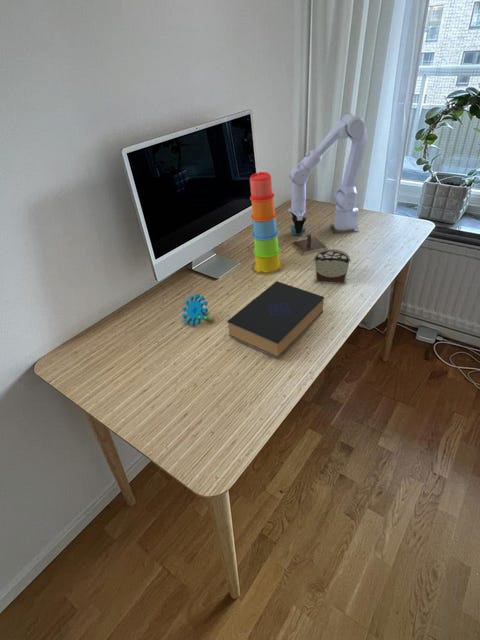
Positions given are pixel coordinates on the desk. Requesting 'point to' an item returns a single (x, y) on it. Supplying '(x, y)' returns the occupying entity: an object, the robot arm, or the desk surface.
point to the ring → (295, 230)
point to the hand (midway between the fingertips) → (298, 229)
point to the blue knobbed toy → (195, 310)
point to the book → (276, 318)
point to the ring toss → (309, 244)
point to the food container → (331, 266)
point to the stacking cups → (264, 223)
